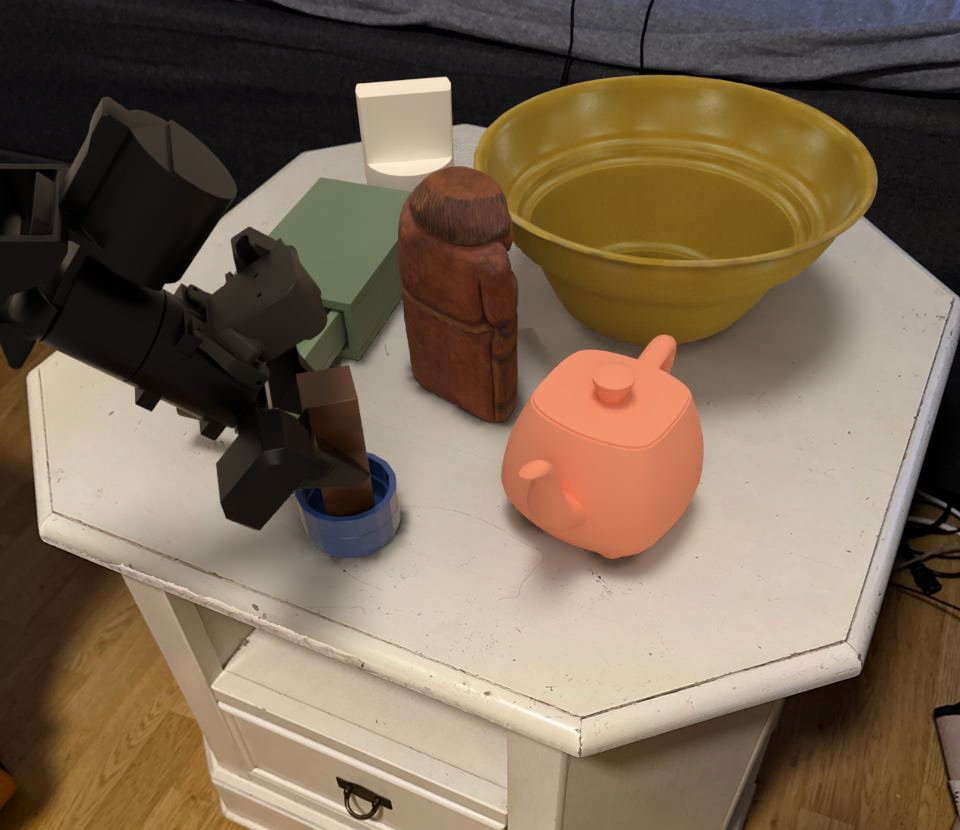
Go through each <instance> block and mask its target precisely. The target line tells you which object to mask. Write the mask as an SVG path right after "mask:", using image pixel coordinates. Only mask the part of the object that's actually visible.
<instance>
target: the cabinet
mask: <svg viewBox="0 0 960 830" xmlns="http://www.w3.org/2000/svg"><path fill="white" fill-rule="evenodd" d="M411 193H412V192H408V191H402V190H396V189H390V188H384V187H377V186H371V185H367V184H366V183H365V184H364V183H358V182H352V181H346V180H341V179H334V178H328V177H322V176H320V177H319V178H318V179H317V181H316V182H314V184H313V185H312V186H311V187H310V188H309V189H308V190H307V191H306V193H304V195H303V196H302V197H301V198H300V199H299V200H298V202H297V203H295V205H294V206H293V207H292V208H291V209H290V211H288V213H287V214H286V215H285V216H284V217H282V219H281V220H280V221H279V223H278V224H277V225H275V227H274V228H273V229H272V230H271V232H269V233H268V235H267V236H269V237H271V238H273V239H275V240H278V239H279V238H281V239H282V240H283V242H284V243H285V244H286V245H292V246H294V247H295V248H296V249H297V252H298V256H299V260H300V263H301V264H302V265H303V267H304V268H305V269H306V271H307V272H308V273H309V275H310V276H311V277H312V279H313V280H314V281H315V283H316V284H317V285H318V287H319V288H320V290H321V299H322V303H323V307H327V308H332V309H337V310H342V311H344V317H345V323H346V330H347V336H348V341H347V342H346V344H345V345H344V347H343V348H342V349H341V351H340V352H339V354H338V355H337V357H339V358H346V359H350V360H354V361H360V360H361V358H362V357H363V356H364V354H365V353H366V351H367V350H368V348H369V347H370V345H371V344H372V343H373V341H374V340H375V338H376V336H377V335H378V334H379V332H380V331H381V329H382V328H383V326H384V325H385V324H386V322H387V320H388V319H389V317H390V316H391V315H392V313H393V312H394V310H395V309H396V307H397V306H398V304H399V303H400V301H401V300H402V291H401V281H400V279H401V276H400V274H399V265H398V224H399V218H400V213H401V210H402V207H403V205H404V203H405V201H406V199H407V198H408V196H409V195H410V194H411ZM232 274H233V275H235V274H237V271H236V270H235V271H234V272H233V273H232Z"/></svg>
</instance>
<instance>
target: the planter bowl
mask: <svg viewBox="0 0 960 830" xmlns="http://www.w3.org/2000/svg"><path fill="white" fill-rule="evenodd" d="M472 162H473V163H472V165H473V167H472V168H473V169H476V170H479V171H481V172H483V173H485V174H487V175H489V176H490V177H491V178H492V179H493V180H495V181H496V182H497V183H498V184H499V185H500V187H501V188H502V190H503V193H504V194H505V197H506V201H507V206H508V210H509V213H510V215H511V218H512V234H513V243H514V245H515V246H516V247H517V248H518V249H519V251H520V252H521V253H523V254H524V255H525V256H526V257H527V258H528V259H529V260H531V262H533V263H534V264H536V265H537V266H538V267H540V268H541V270H542V272H543V274H544V276H545V279H546V280H547V283H548V284H549V285H550V287H551V289H552V291H553V292H554V294H555V296H556V298H558V300H559V301H560V303H561V304H562V306H563V308H564V309H565V310H566V311H567V312H568V313H569V314H570V315H571V317H573V318H574V319H575V320H577V321H578V322H579V323H581V324H582V325H584V326H585V327H587V328H589V329H590V330H592V331H595V332H596V333H598V334H600V335H603V336H604V337H607V338H609V339H612V340H614V341H616V342H617V341H618V342H621V343H625V344H629V345H633V346H639V347H647V345H648V344H649V343H650V342H651V341H652V340H653V339H654V338H655V337H657V336H659V335H669V336H671V337H673V338H674V339H675V341H676V345H677V346H678V345H684V344H688V343H693V342H696V341H700V340H704V339H706V338H710V337H712V336H714V335H716V334H718V333H720V332H722V331H724V330H726V329H727V328H729V327H730V326H731V325H733V324H735V322H736V321H738V320H739V319H740V318H741V317H743V316H744V315H745V314H746V313H747V312H748V311H749V310H751V309H752V307H754V306H755V305H756V304H757V303H758V302H759V301H760V300H761V299H762V298H763V296H765V295H766V293H767V292H768V291H769V290H770V289H772V288H774V287H776V286H779V285H781V284H783V283H785V282H788V281H790V280H791V279H793V278H795V277H796V276H798V275H799V274H801V273H802V272H804V271H805V270H806V269H808V268H809V267H810V266H811V265H812V264H814V263H815V262H816V261H817V260H818V259H819V258H820V257H821V256H822V255H823V254H824V252H826V250H827V249H828V248H829V247H830V246H831V245H832V244H833V243H834V241H835V240H836V239H837V237H839V236H840V235H842V234H844V232H846V231H848V230H849V229H850V228H852V227H854V226H855V224H856V223H858V222H859V221H860V220H861V218H862V217H864V215H865V214H866V213H867V211H868V210H869V209H870V208H871V206H872V204H873V201H874V199H875V197H876V194H877V190H878V185H879V184H878V172H877V167H876V164H875V161H874V159H873V157H872V155H871V153H870V152H869V150H868V149H867V147H866V146H865V145H864V143H863V142H862V141H861V140H860V139H859V138H858V137H857V136H856V135H855V134H854V133H853V132H852V131H851V130H849V129H848V128H847V127H846V126H845V125H843V124H842V123H840V122H839V121H837V120H835V118H833V117H831V116H829V115H828V114H827V113H824V112H823V111H821V110H819V109H817V108H815V107H813V106H811V105H809V104H806V103H805V102H802V101H800V100H797V99H794V98H792V97H789V96H787V95H784V94H781V93H778V92H775V91H773V90H768V89H765V88H762V87H761V88H760V87H757V86H753V85H750V84H744V83H739V82H734V81H729V80H723V79H717V78H710V77H701V76H690V75H676V74H675V75H673V74H671V75H670V74H650V75H649V74H648V75H643V74H642V75H641V74H640V75H625V76H616V77H607V78H599V79H593V80H592V79H591V80H586V81H582V82H577V83H573V84H569V85H564V86H561V87H558V88H555V89H551V90H549V91H546V92H543V93H540V94H538V95H535V96H533V97H530V98H529V99H527V100H524V101H523V102H520V103H519V104H517V105H515V106H513V107H511V108H510V109H508V110H507V111H505V112H504V113H503V114H500V116H499V117H497V118H496V119H495V120H493V122H492V123H490V125H489V126H488V127H487V128H486V129H485V131H483V133H482V135H481V136H480V138H479V140H478V142H477V144H476V147H475V149H474V153H473V161H472Z"/></svg>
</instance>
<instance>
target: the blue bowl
mask: <svg viewBox="0 0 960 830" xmlns="http://www.w3.org/2000/svg"><path fill="white" fill-rule="evenodd" d="M367 458H368V464H369V470H370V475H371V482H372V488H373V495H374V501H375V507H374V508H372V509H371V510H368V511H366V512H363V513H361V514H358V515H356V516H346V517H334V516H329V515H327V514H326V509H325V505H324V501H323V496H322V492H321V488H309V489H299V490H295V492H294V497H295V501H296V505H297V509H298V512H299V516H300V520H301V523H302V528H303V530H304V532H305V533H306V536H307V537H308V539H309V540H310V542H311V543H312V544H313V545H314V546H315V547H316V548H317V549H318V550H320V551H321V552H323V553H324V554H328V555H330V556H333V557H337V558H347V559H349V558H351V559H352V558H360V557H364V556H368V555H371V554H373V553H377V552H378V551H379V550H381V549H383V548H384V547H385V546H386V545H388V544H389V543H390V542H391V541H392V539H394V537H395V535H396V533H397V531H398V528H399V525H400V522H401V521H402V520H401V506H400V498H399V492H398V490H399V489H398V482H397V475H396V472H395V471H394V470H393V468H392V467H391V465H390V464H389V462H387V460H385V459H384V458H382V457H379V456H378V455H376V454H374V453H372V452H367Z"/></svg>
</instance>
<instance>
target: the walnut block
mask: <svg viewBox="0 0 960 830" xmlns="http://www.w3.org/2000/svg"><path fill="white" fill-rule="evenodd" d="M296 380H297V385H298V390H299V395H300V400H301V405H302V410H303V411H304V410H305V409H306V408H309V410H310V414H311V418H312V422H313V427H314V431H315V433H316V434H317V435H318V436H319V437H321V438H322V439H324V440H325V441H327V442H328V443H330V444H331V445H333V446H335V447H336V448H338V449H339V450H341V451H342V452H344V453H345V454H347V455H348V456H350V457H351V458H353V459H354V460H356V461H357V462H358V463H360V464H361V465H362V466H364V467H365V468H366V469H367V470H369V464H368V458H367V453H368V451H367V448H366V447H367V446H366V440H365V434H364V428H363V421H362V416H361V415H362V414H361V411H360V410H361V409H360V403H359V397H358V394H357V390H356V387H355V382H354V379H353V375H352V371H351V368H350V365H348V364H346V365H341V366H336V367H331V368H330V367H329V368H328V369H323V370H317V371H311V372H305V373H299V374H296ZM369 471H370V470H369ZM321 492H322V496H323V501H324V505H325V509H326V514H327V515H329V516H334V517H346V516H356V515H358V514H361V513H363V512H366V511H368V510H371V509H372V508H374V507H375V501H374V495H373V488H372V482H371V476H370V478H369V479H368V480H367V481H366V482H365V483H364V484H363V485H360V486H343V487H325V488H321Z"/></svg>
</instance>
